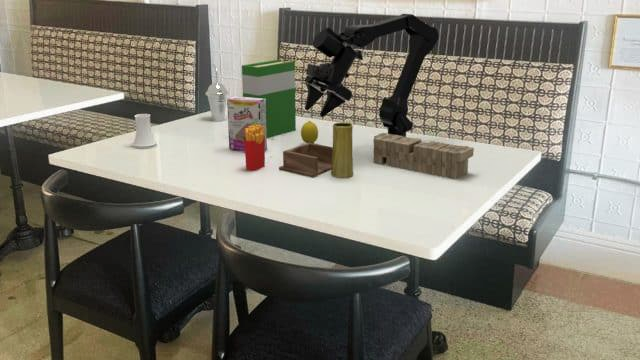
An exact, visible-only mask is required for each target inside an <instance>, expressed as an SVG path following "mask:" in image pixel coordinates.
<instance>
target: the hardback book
mask: <svg viewBox="0 0 640 360" xmlns="http://www.w3.org/2000/svg"><path fill="white" fill-rule="evenodd" d="M241 83H242V97H249V98H262V99H266V132H267V139H270V138H273V137H277V136H280V135H285V134H288V133H291V132H294V131H296V129H297V125H296V121H297V120H296V119H297V118H296V115H297V114H296V113H297V111H296V61H295V60H293V61H292V60H291V61H286V62H285V61H284V62H283V61H282V59H275V60H267V61H262V62H255V63H248V64H243V65H241Z"/></svg>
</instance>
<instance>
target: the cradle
mask: <svg viewBox="0 0 640 360" xmlns="http://www.w3.org/2000/svg"><path fill="white" fill-rule="evenodd" d="M332 151H333V146H328V145H323V144H318V143H304V144H301V145H297V146H295V147H291V148H289V149H286V150H284V151H282V158H283V159H282V162H283V165H281V166H279V167H278V170H279V171H283V172H286V173H292V174H295V175H300V176H303V177H307V178H312V179H313V178H316V177H318V176H321V175H323V174H325V173H328V172H330V171H332Z"/></svg>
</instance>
